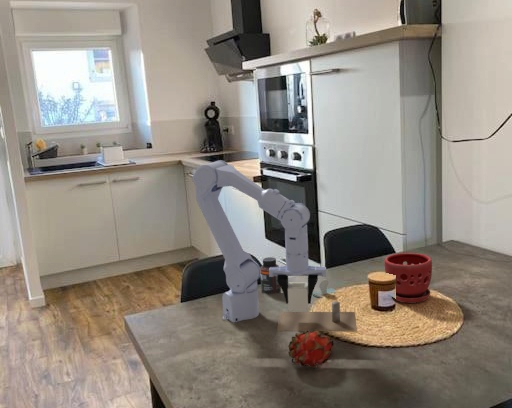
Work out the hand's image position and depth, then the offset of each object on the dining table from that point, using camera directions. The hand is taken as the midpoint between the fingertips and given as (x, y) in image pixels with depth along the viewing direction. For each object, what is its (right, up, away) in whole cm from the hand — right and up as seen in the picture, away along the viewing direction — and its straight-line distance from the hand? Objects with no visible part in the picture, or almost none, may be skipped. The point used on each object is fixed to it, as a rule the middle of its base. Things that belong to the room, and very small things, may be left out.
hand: (298, 302), depth 138 cm
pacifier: (+9, -3, +20) cm, 22 cm away
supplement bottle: (-6, -2, +25) cm, 26 cm away
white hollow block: (0, -1, 0) cm, 1 cm away
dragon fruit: (+2, -11, -18) cm, 21 cm away
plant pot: (+33, -2, +17) cm, 37 cm away
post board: (+5, -6, +1) cm, 8 cm away
